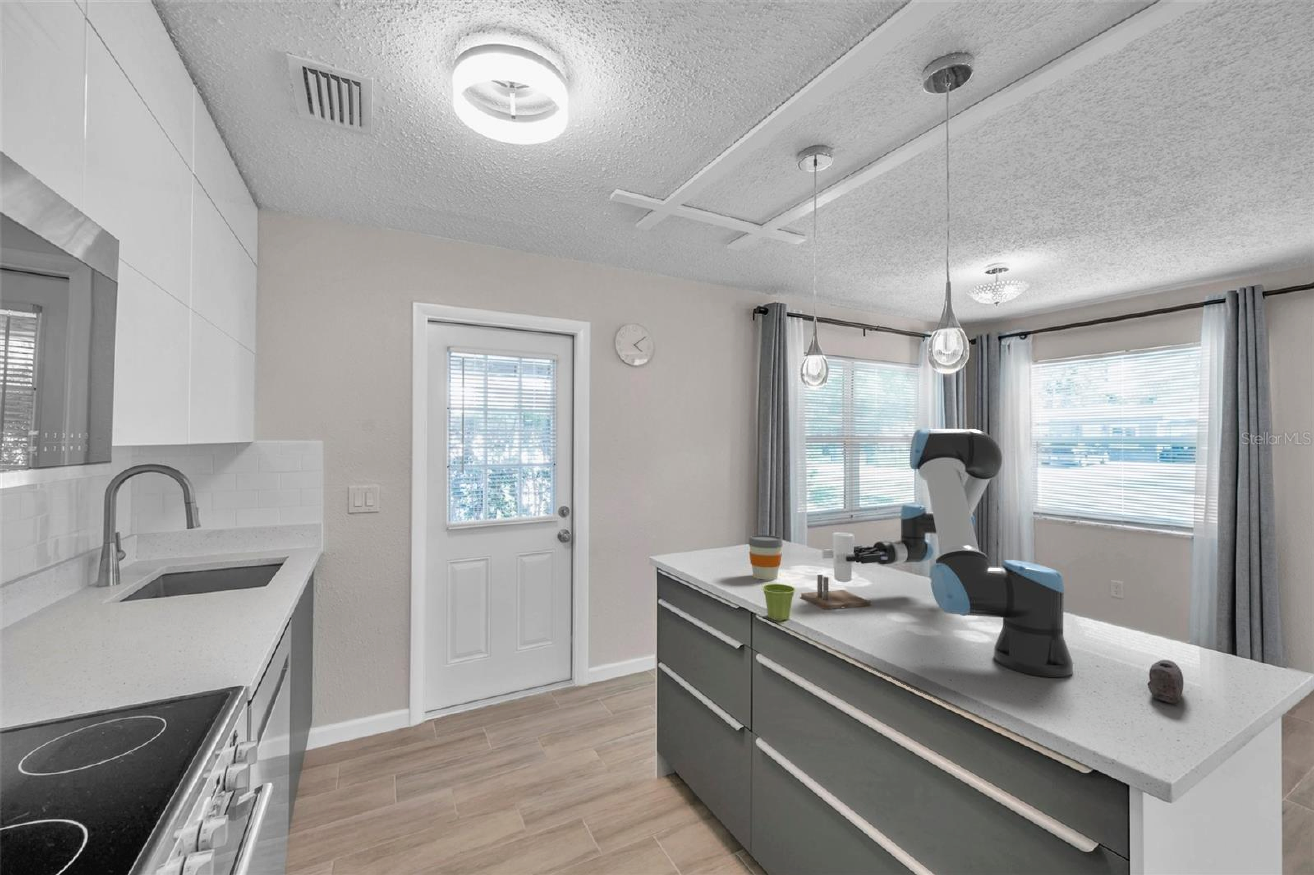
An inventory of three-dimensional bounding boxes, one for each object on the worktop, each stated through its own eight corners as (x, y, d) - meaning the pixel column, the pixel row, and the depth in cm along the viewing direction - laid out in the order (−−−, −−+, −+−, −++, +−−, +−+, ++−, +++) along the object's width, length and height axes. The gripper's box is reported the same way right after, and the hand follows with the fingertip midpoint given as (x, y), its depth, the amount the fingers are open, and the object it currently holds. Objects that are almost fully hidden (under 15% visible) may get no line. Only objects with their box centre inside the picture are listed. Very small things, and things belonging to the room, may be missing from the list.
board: (842, 593, 186) (842, 569, 186) (870, 605, 172) (870, 579, 173) (801, 596, 181) (801, 572, 181) (826, 609, 168) (826, 582, 168)
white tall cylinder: (828, 580, 178) (828, 534, 178) (837, 576, 183) (837, 531, 183) (848, 584, 173) (848, 536, 173) (857, 580, 178) (857, 534, 178)
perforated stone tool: (1154, 680, 120) (1154, 648, 120) (1187, 688, 116) (1188, 655, 116) (1144, 702, 110) (1144, 667, 110) (1180, 711, 106) (1180, 675, 106)
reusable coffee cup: (744, 573, 212) (744, 535, 212) (776, 573, 214) (776, 534, 214) (753, 582, 200) (754, 540, 200) (787, 581, 201) (787, 540, 201)
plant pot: (793, 624, 154) (794, 593, 154) (760, 620, 157) (760, 590, 157) (796, 614, 163) (796, 585, 163) (764, 611, 166) (764, 582, 166)
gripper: (910, 570, 174) (848, 575, 167) (869, 557, 192) (812, 561, 186) (910, 547, 174) (848, 551, 167) (869, 536, 192) (812, 539, 186)
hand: (829, 556), depth 176 cm, fingers closed on white tall cylinder, 6 cm apart
